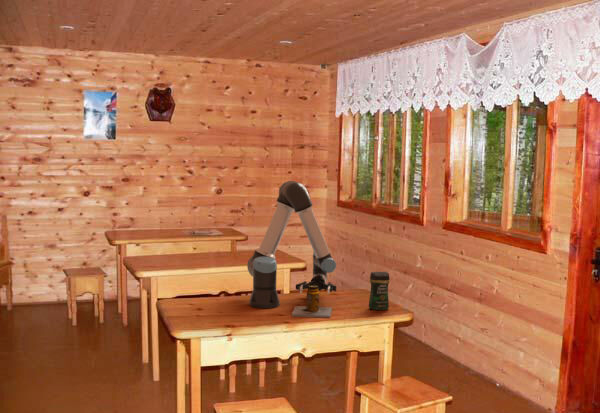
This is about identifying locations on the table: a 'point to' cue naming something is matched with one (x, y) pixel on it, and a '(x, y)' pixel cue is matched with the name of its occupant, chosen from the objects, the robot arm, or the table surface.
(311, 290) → the condiment
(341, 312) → the table surface
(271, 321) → the table surface
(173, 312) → the table surface
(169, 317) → the table surface
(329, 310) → the plain gray board
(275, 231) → the robot arm
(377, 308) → the coffee jar
